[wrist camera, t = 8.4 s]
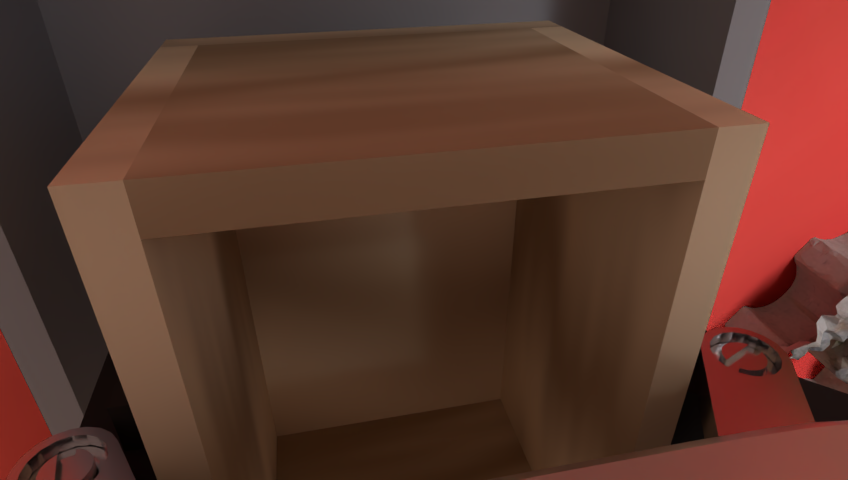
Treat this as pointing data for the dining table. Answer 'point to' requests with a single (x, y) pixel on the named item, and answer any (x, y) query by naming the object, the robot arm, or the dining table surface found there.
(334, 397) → the pine crate
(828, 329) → the egg carton
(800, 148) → the dining table surface
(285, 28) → the grey tote
